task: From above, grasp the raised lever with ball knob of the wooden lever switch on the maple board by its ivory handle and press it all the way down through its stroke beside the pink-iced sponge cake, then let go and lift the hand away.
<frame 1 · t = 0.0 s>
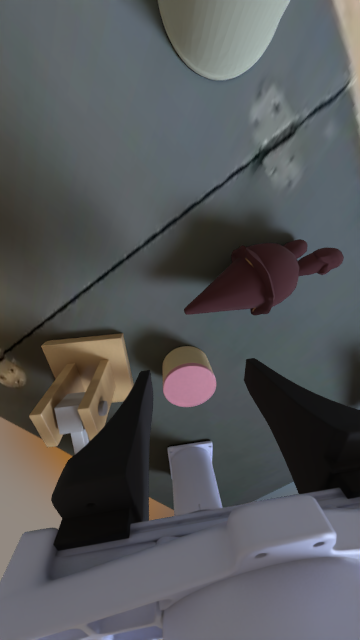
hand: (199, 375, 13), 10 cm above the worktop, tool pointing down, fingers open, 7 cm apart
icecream: (240, 274, 21), on the worktop
lever with ball knob: (82, 451, 19), point 8 cm above the worktop, hinge at 15.0°
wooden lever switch: (95, 369, 24), on the worktop
cake: (185, 365, 25), on the worktop
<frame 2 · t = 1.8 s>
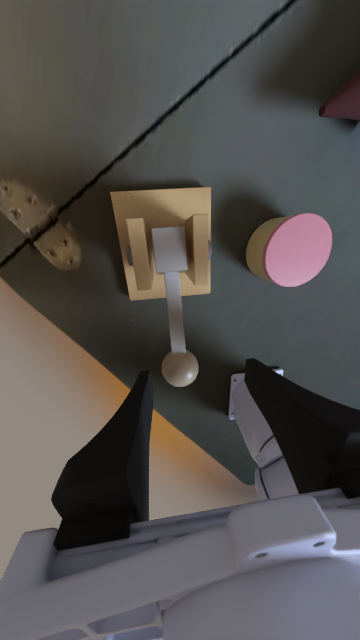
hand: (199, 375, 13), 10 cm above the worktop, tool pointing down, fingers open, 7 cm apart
lever with ball knob: (175, 313, 14), point 8 cm above the worktop, hinge at 15.0°
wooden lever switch: (166, 248, 19), on the worktop
cake: (272, 250, 21), on the worktop
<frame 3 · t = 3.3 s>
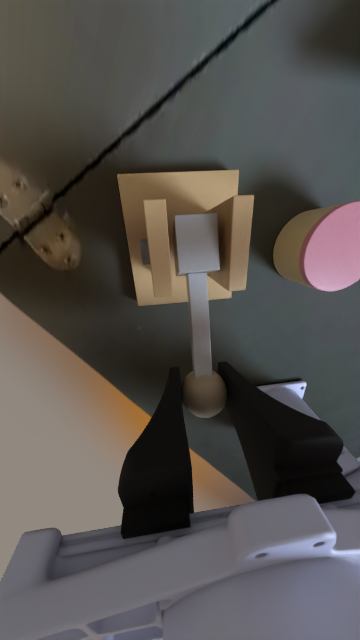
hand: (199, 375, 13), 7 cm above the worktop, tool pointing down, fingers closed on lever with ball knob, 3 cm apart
lever with ball knob: (199, 325, 11), point 8 cm above the worktop, hinge at 15.0°, touching gripper
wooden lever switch: (181, 245, 16), on the worktop
cake: (304, 248, 18), on the worktop
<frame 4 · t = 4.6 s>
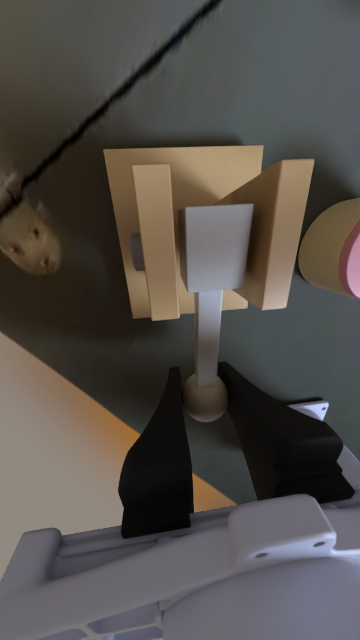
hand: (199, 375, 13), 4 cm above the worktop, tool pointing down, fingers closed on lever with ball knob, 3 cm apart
lever with ball knob: (206, 339, 10), point 6 cm above the worktop, hinge at -5.6°, touching gripper
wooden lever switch: (186, 243, 13), on the worktop
cake: (336, 247, 15), on the worktop
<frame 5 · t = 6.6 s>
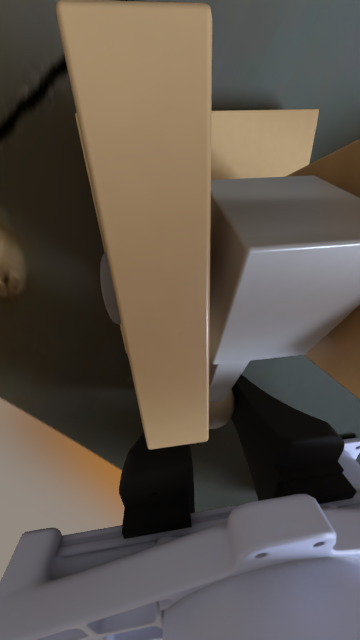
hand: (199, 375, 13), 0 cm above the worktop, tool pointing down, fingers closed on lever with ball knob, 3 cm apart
lever with ball knob: (221, 368, 7), point 4 cm above the worktop, hinge at -27.5°, touching gripper
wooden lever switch: (198, 254, 10), on the worktop
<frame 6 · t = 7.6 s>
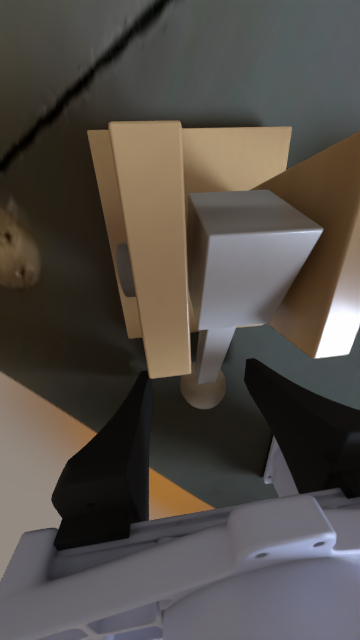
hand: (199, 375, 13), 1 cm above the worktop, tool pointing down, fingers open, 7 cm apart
lever with ball knob: (211, 348, 9), point 5 cm above the worktop, hinge at -25.6°
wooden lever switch: (192, 249, 11), on the worktop
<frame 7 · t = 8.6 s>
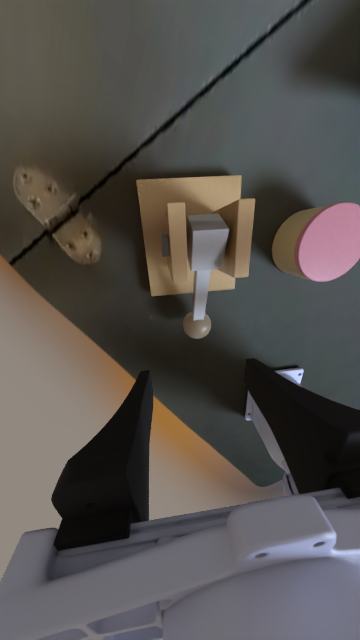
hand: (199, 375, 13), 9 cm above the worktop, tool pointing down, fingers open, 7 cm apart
lever with ball knob: (199, 292, 16), point 5 cm above the worktop, hinge at -25.6°
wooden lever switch: (190, 241, 18), on the worktop
cake: (300, 244, 20), on the worktop
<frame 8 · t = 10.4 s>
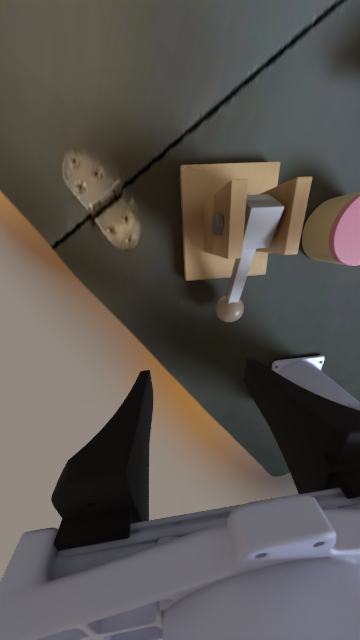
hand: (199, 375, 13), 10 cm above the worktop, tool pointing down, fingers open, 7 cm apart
lever with ball knob: (239, 274, 17), point 5 cm above the worktop, hinge at -25.6°
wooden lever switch: (224, 227, 19), on the worktop
cake: (329, 231, 20), on the worktop
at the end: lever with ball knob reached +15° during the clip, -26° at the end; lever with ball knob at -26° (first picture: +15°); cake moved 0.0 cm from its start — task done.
